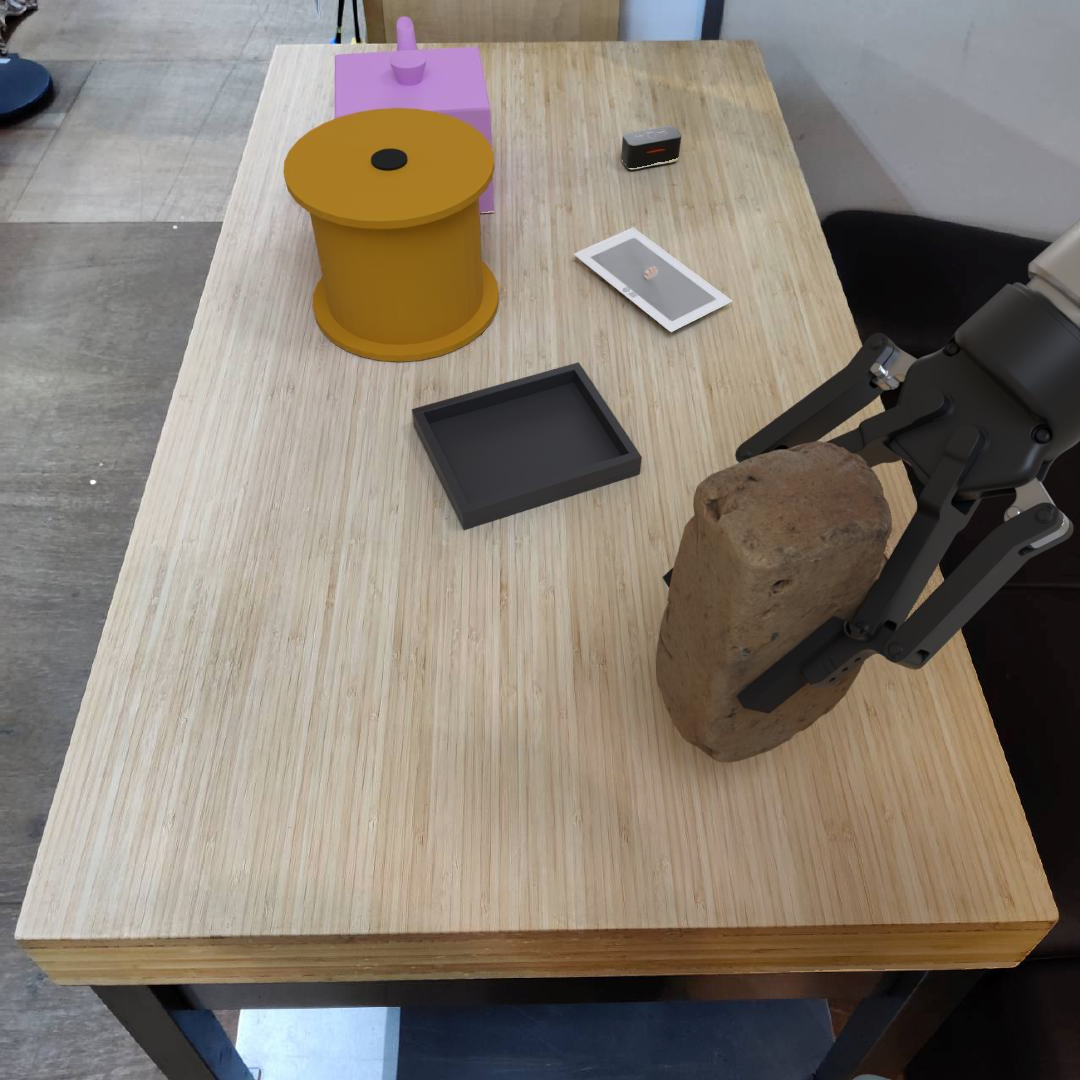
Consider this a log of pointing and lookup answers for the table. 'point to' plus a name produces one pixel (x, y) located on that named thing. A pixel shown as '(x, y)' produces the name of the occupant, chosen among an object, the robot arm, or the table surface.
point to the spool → (397, 231)
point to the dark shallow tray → (524, 444)
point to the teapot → (417, 84)
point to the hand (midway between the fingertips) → (714, 643)
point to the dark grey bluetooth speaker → (650, 146)
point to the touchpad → (653, 279)
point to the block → (766, 589)
